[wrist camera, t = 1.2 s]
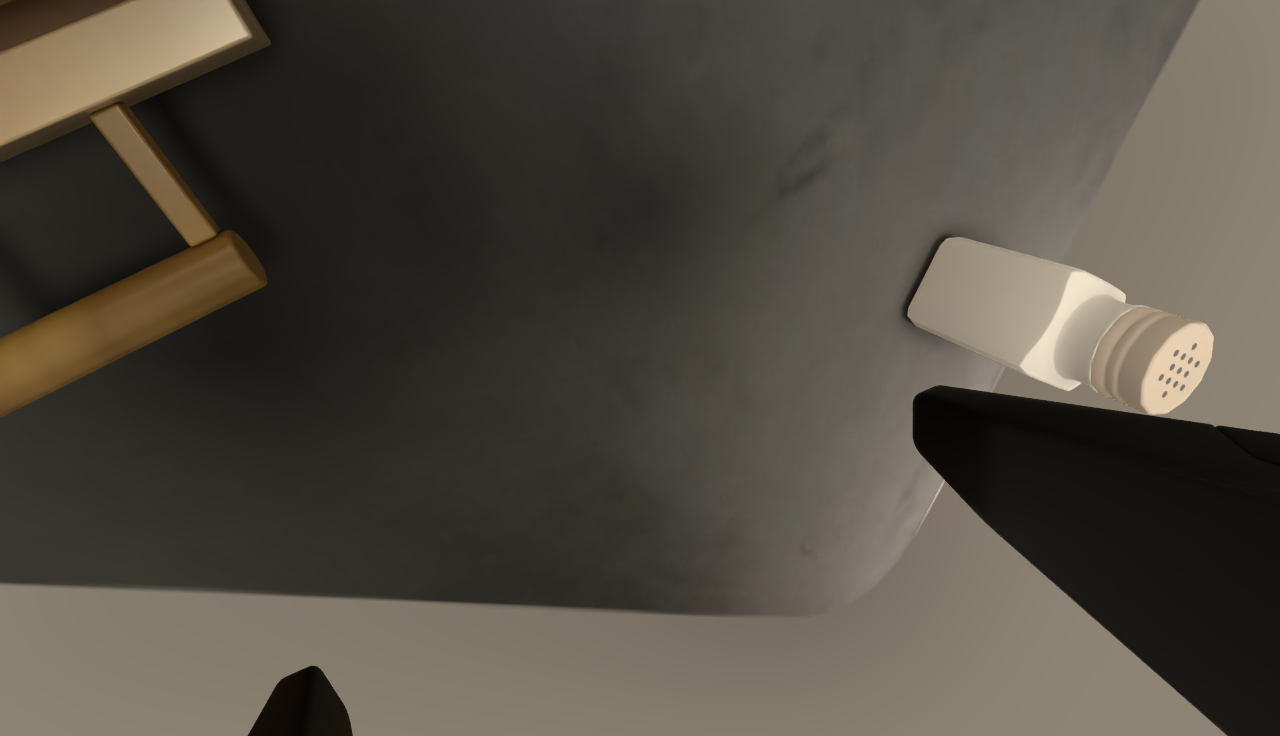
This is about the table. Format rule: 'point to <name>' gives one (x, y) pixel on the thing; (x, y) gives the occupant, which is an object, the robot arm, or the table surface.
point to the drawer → (101, 94)
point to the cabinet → (42, 17)
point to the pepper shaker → (1060, 325)
